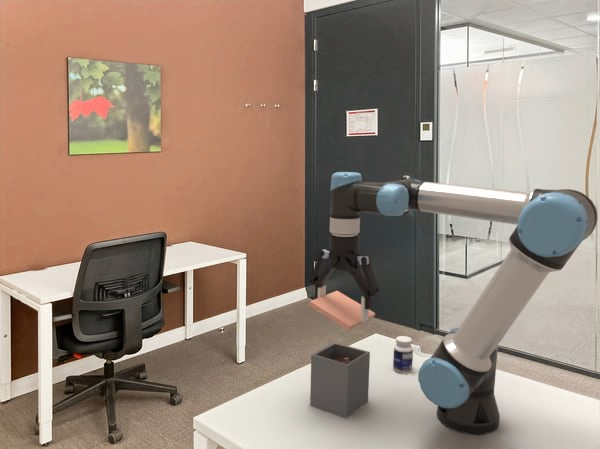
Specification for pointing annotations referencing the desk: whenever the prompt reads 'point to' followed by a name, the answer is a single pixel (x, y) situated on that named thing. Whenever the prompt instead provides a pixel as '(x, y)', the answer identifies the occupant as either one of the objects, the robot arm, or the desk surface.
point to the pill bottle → (403, 355)
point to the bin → (339, 379)
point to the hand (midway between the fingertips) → (342, 315)
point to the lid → (340, 309)
